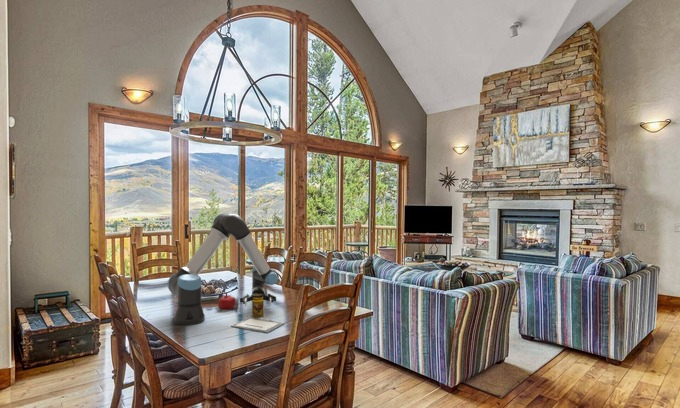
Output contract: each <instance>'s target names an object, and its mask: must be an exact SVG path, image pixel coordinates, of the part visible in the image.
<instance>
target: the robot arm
mask: <svg viewBox="0 0 680 408" xmlns="http://www.w3.org/2000/svg"><path fill="white" fill-rule="evenodd" d="M212 223H213V224H212V225H211V227H210V233H209V234H208V235H207V237H206V238H204V240H203V242H202V243H201V244H200V246H199V247H198V249H197V250H196V251H195V253H194V254H193V256H191V258H190V260H189V261H188V262H187V264H186V265H184V266H182V267H180V268H179V269H178V270H177V272H176V273H173V274H172V275H170V276H169V279H168V280H167V289H168V290H169V292H170V293H171V294H172V295H174V296H176V297H177V308H176V310H175V314H174V317H173V323H174V324H176V325H178V326H179V325H180V326H190V325H191V326H192V325H196V324H199V323H202V322H204V321H205V320H206V319H205V317H206V315H205V313H204V309H203V306H202V284H203V283H202V278H201V276H199V274H200V273H201V272H202V271H203V269H204V267H206V265H207V263H208V262H209V261H210V259H211V258H212V256H213V255H214V254H215V252H216V251H217V250H218V248H219V247H220V246H221V244H222V243H223V241H227V240H228V239H229V238H230V237H231V236H232V237H233V238H234V240H235V241H237V242H239V244H240V246H241V247H242V249H243V251H244V253H245V254H246V255H247V257H248V259H249V261H250V262H251V264H252V266H253V267H252V271H251V272H252V273H251V274H252V275H251V277H252V279H251V280H252V281H251V282H252V283H251V286H252V287H251V291H252V292H251V295H249V294H248V293H247V294H246V295H243V296H242V297H240V298H239V303H240V304H241V303H242V305H244V307H247V303H248V302H252V300H253V295H255V294H262V295H263V300H264V301H267V302H269V306H272V303H274V302H277V296H275V295H273V294H271V293H267V294H265V285H269V286H273V285H275V284H276V283H277V282H278V280H279V279H278V275H277V273H276V272H273V270H272V269H271V267H270V265H269V264H268V262H267V261H266V259H265V257H264V255H263V253H262V252H261V250H260V249H259V247H258V245H257V243H256V242H255V240H254V239H253V237H252V234H251V230H250V228H249V227H248V225H247V223H246V222H245V220H244V219H243V218H242V217H241V216H240V215H239V214H237V213H229V212H228V213H227V212H223V213H220V214H218V215H216V216H215V217H214V219H213V222H212Z"/></svg>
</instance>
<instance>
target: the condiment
mask: <svg viewBox="0 0 680 408" xmlns="http://www.w3.org/2000/svg"><path fill="white" fill-rule="evenodd" d="M251 302H252V304H251V305H252V307H251V308H252V309H251V310H252V312H251V314H249V315H247V318H256V319H260V318H266V316H268V315H266V314H264V304H265V300H263V295H262V294H255V295H253V300H252V301H251Z"/></svg>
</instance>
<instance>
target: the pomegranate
mask: <svg viewBox="0 0 680 408" xmlns="http://www.w3.org/2000/svg"><path fill="white" fill-rule="evenodd" d="M236 301H237V300H236V298H235V297H234V296H232V295H231V294H229V295H228V292H225V294H221V297H220V298H219V300H218V301H217V305H218V309H220V310H231V309H234V308H235V306H236Z"/></svg>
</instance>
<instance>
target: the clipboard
mask: <svg viewBox="0 0 680 408" xmlns="http://www.w3.org/2000/svg"><path fill="white" fill-rule="evenodd" d="M284 325H285V322H280V321H279V322H278V321H275V320H274V321H273V320H272V319H271V318H266V317H262V318H259V319H256V318H252V317H247V318H244V319H243V320H240V321H239V322H236V323H233V324H231V325H230V327H231V328H235V329H240V330H241V329H242V330H248V331H254V332H257V333H264V334H269V333H271V332H272V331H275V330H276V329H279V328H280V327H282V326H284Z"/></svg>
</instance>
